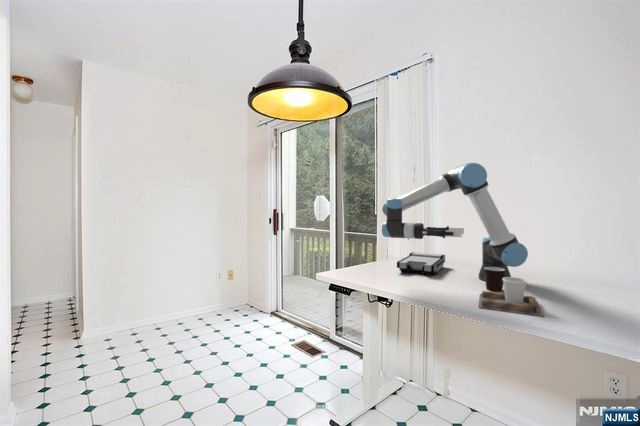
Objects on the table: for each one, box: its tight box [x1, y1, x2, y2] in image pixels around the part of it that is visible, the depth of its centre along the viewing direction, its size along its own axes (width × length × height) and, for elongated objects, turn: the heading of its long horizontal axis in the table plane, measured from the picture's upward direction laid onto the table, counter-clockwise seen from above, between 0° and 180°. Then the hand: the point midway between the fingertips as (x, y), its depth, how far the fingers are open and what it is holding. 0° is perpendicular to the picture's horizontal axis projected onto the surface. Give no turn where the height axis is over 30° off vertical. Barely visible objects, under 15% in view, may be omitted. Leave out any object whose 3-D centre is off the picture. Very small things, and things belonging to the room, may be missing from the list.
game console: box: [396, 251, 446, 277], centre depth 189 cm, size 21×32×8 cm, turn 148°
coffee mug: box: [484, 267, 505, 293], centre depth 147 cm, size 12×9×10 cm
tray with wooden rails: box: [478, 290, 545, 318], centre depth 126 cm, size 21×20×2 cm
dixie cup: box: [502, 276, 528, 304], centre depth 125 cm, size 8×8×10 cm
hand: (463, 232), depth 140 cm, fingers open, 13 cm apart
